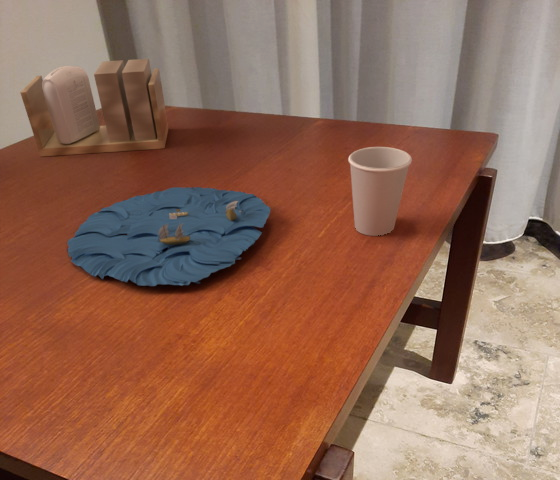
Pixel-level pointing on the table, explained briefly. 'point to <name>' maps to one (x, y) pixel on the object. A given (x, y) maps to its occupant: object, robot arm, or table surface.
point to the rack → (108, 112)
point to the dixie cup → (377, 187)
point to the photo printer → (70, 103)
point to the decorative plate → (169, 235)
